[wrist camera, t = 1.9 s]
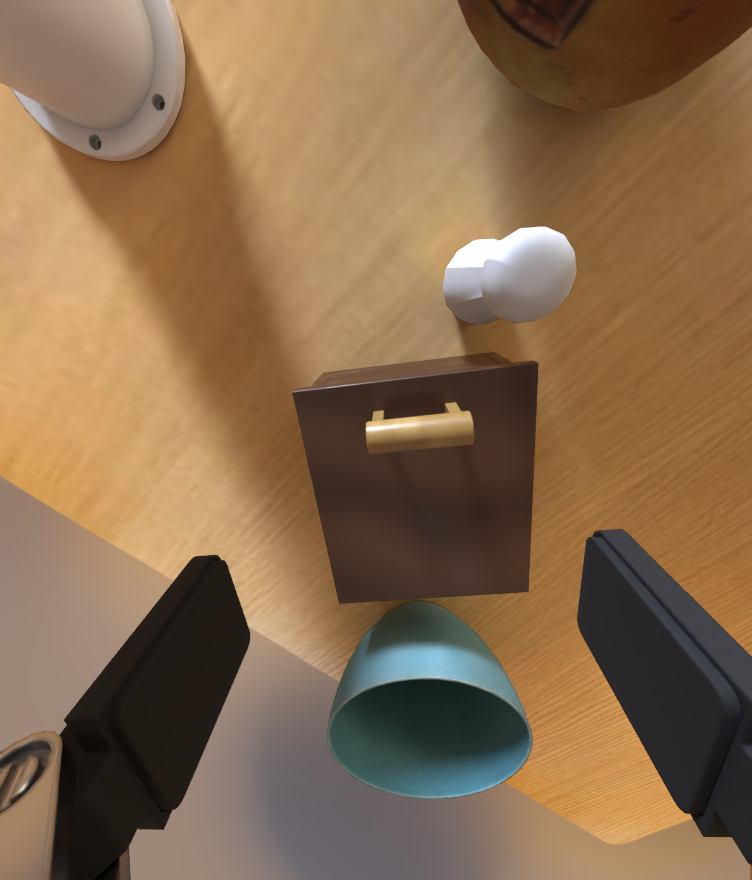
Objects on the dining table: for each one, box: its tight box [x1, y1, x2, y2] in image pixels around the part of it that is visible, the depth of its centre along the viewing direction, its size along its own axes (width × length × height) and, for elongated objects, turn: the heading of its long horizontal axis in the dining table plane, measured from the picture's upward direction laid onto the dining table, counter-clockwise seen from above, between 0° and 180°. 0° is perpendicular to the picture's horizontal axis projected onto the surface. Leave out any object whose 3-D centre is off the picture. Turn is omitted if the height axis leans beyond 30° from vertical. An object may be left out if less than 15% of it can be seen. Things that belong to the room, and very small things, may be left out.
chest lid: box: [292, 361, 538, 604], centre depth 23 cm, size 18×15×5 cm
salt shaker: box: [443, 227, 577, 325], centre depth 22 cm, size 6×6×13 cm
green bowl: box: [327, 602, 533, 799], centre depth 37 cm, size 18×18×12 cm
